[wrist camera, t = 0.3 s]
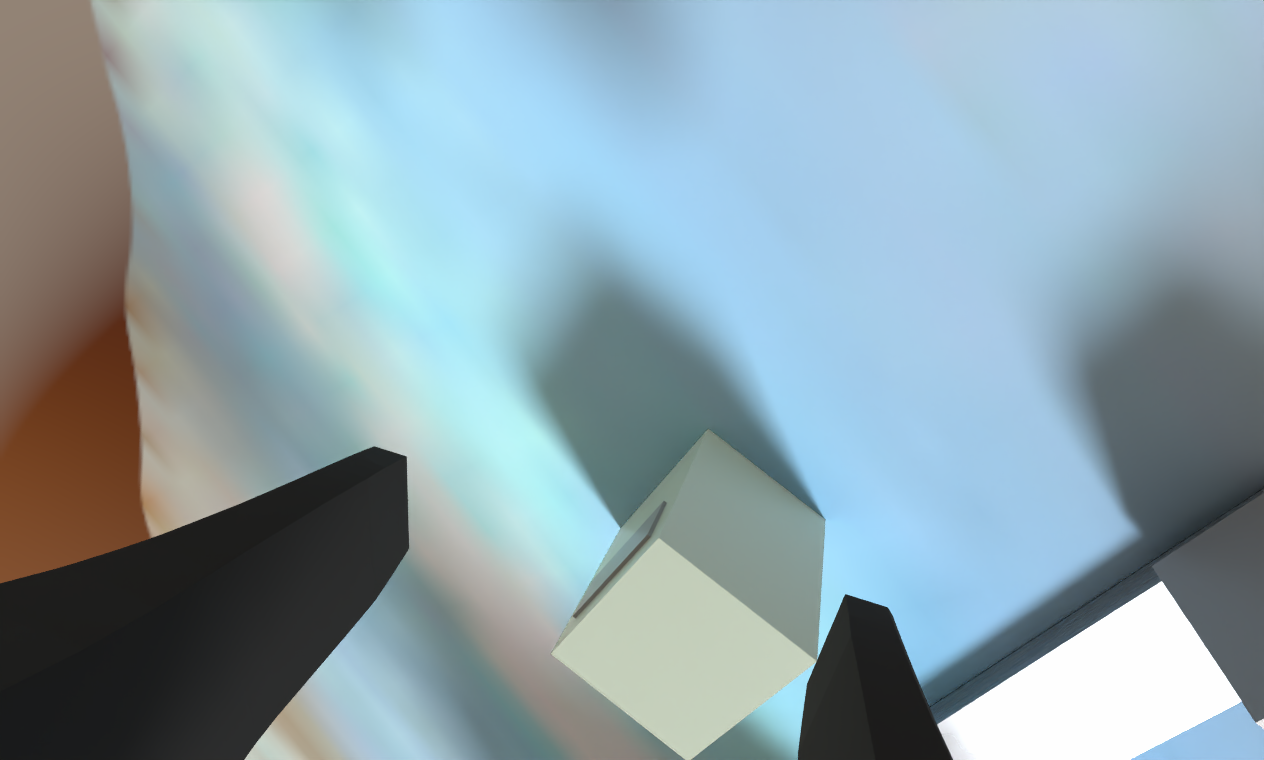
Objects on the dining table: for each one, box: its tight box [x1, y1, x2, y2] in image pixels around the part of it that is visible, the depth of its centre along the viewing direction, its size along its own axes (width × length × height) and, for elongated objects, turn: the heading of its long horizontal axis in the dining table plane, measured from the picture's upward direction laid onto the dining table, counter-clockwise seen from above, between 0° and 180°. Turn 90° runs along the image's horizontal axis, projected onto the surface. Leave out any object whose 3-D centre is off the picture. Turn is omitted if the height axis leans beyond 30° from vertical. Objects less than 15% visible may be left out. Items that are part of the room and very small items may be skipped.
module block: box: [551, 429, 825, 760], centre depth 19 cm, size 5×5×6 cm
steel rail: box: [929, 488, 1264, 760], centre depth 21 cm, size 24×4×1 cm, turn 146°
